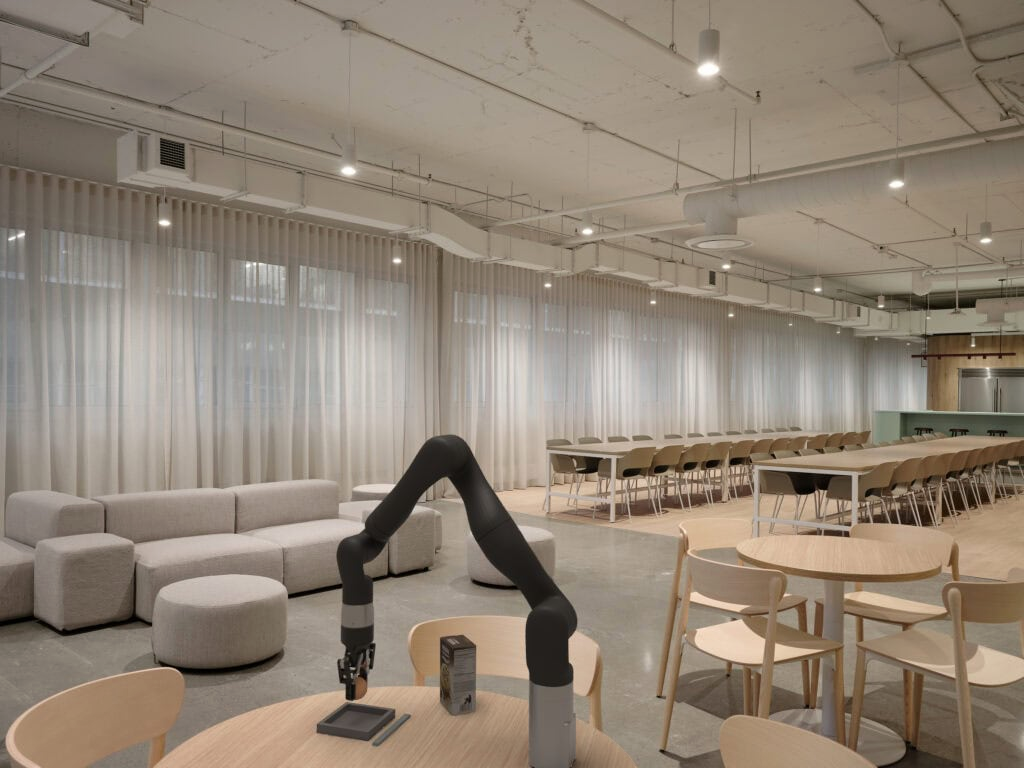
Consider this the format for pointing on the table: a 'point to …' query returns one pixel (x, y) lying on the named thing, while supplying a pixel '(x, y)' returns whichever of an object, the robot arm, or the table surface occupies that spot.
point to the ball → (360, 688)
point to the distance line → (391, 730)
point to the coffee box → (457, 674)
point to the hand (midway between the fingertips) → (356, 695)
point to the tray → (356, 721)
